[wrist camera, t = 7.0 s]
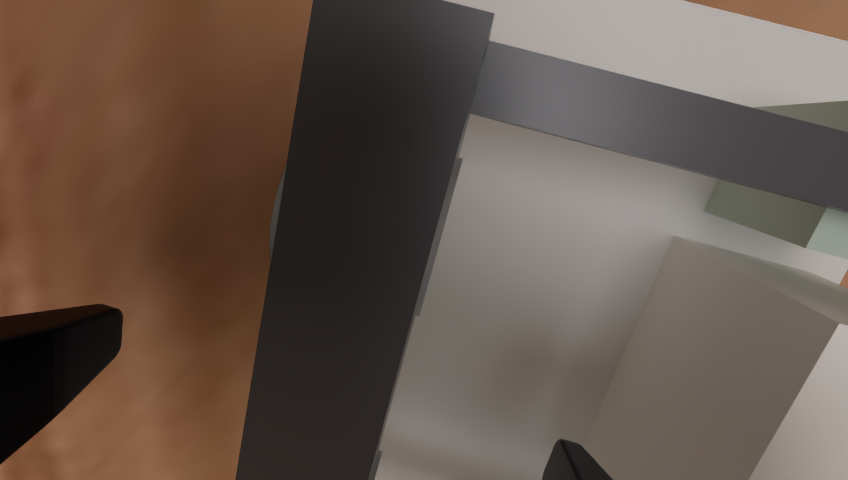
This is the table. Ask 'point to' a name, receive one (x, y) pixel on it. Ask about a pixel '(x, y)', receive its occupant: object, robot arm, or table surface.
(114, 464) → the table surface
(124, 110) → the table surface
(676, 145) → the glasses
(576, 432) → the display stand
